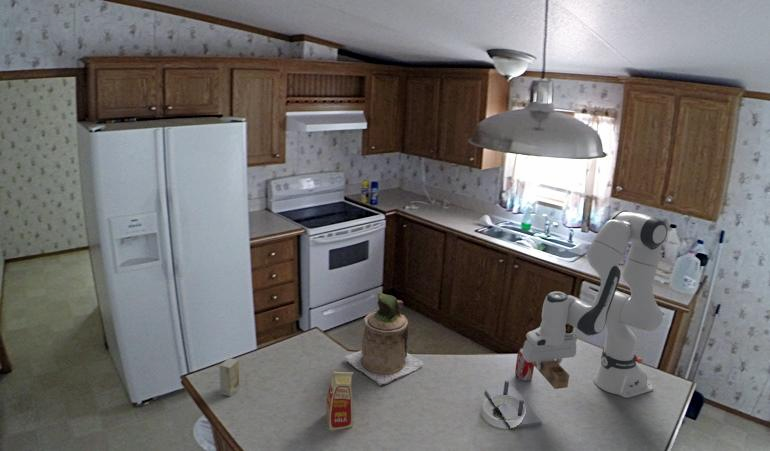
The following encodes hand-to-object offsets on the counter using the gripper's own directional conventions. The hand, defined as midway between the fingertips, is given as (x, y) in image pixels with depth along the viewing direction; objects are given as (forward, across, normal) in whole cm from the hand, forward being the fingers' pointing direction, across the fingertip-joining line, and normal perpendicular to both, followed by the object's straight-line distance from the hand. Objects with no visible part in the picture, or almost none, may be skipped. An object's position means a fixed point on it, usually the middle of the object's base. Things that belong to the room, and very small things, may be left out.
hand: (547, 368), depth 200 cm
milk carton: (+14, +77, -4) cm, 78 cm away
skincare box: (+13, +115, -28) cm, 119 cm away
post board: (+15, +13, 0) cm, 20 cm away
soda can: (+16, -1, -18) cm, 24 cm away
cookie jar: (+15, +53, -37) cm, 66 cm away
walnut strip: (+2, 0, 0) cm, 2 cm away
